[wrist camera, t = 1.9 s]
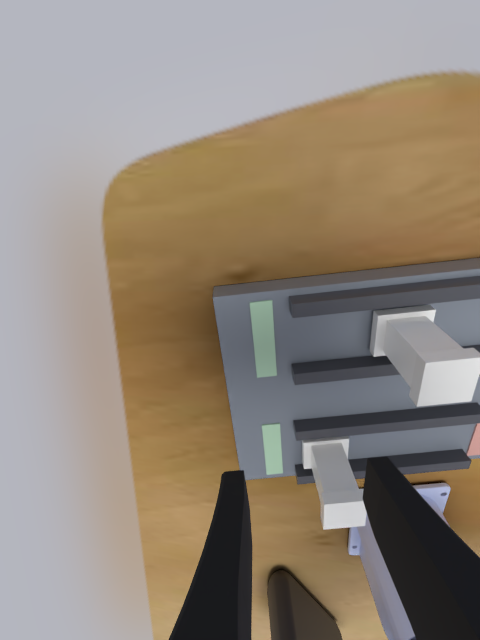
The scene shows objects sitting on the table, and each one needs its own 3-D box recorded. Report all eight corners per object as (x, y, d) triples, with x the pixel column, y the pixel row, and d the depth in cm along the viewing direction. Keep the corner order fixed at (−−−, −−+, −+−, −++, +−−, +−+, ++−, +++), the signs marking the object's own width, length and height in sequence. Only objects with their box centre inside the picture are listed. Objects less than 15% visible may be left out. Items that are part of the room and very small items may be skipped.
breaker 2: (421, 345, 18) (477, 402, 14) (369, 350, 19) (409, 409, 14) (429, 304, 17) (493, 354, 13) (373, 310, 17) (419, 361, 13)
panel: (472, 440, 25) (496, 469, 23) (241, 463, 25) (242, 493, 23) (536, 251, 18) (580, 265, 16) (213, 286, 18) (211, 305, 16)
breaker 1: (344, 457, 23) (370, 526, 19) (302, 461, 23) (318, 531, 19) (346, 431, 22) (374, 498, 17) (301, 435, 22) (318, 503, 18)
